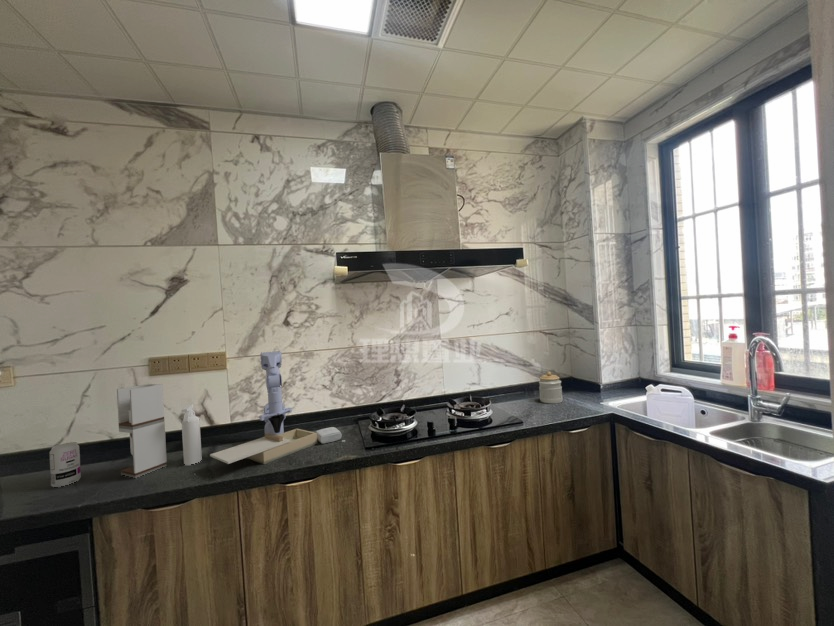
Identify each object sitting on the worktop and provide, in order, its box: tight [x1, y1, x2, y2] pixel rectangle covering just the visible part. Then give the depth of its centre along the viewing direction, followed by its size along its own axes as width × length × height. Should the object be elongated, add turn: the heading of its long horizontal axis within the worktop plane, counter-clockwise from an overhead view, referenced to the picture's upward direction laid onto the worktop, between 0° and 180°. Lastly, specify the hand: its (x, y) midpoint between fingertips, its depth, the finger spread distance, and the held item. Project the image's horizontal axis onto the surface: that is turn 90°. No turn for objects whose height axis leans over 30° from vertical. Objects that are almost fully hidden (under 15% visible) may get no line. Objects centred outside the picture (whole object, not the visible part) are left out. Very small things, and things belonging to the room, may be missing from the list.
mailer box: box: [245, 428, 318, 465], centre depth 156 cm, size 16×26×5 cm, turn 143°
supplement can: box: [48, 441, 82, 488], centre depth 136 cm, size 8×8×15 cm
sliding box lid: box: [209, 433, 290, 465], centre depth 145 cm, size 16×26×3 cm, turn 143°
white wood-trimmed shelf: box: [116, 383, 168, 479], centre depth 143 cm, size 11×11×35 cm
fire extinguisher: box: [181, 403, 203, 466], centre depth 150 cm, size 7×12×25 cm, turn 13°
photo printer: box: [315, 426, 343, 444], centre depth 167 cm, size 10×4×12 cm
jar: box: [538, 371, 564, 404], centre depth 207 cm, size 13×13×18 cm
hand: (277, 432), depth 155 cm, fingers closed
